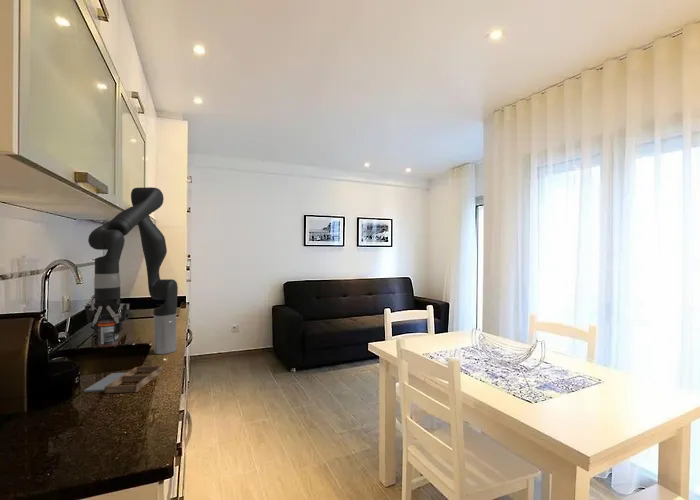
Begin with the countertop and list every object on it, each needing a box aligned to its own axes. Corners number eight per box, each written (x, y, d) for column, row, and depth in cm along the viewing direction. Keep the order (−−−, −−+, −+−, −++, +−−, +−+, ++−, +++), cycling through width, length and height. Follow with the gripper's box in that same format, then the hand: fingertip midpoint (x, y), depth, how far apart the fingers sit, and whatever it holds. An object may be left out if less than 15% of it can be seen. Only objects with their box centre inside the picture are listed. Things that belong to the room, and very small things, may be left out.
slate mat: (112, 374, 131) (112, 373, 131) (129, 374, 131) (129, 372, 131) (83, 392, 115) (83, 390, 115) (103, 391, 115) (103, 389, 115)
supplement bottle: (100, 344, 125) (99, 312, 124) (119, 342, 127) (119, 311, 127) (96, 348, 119) (95, 315, 119) (116, 346, 122) (116, 314, 122)
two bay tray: (136, 372, 133) (135, 366, 133) (162, 371, 134) (162, 365, 134) (104, 393, 114) (104, 387, 114) (136, 391, 114) (136, 385, 114)
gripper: (134, 284, 127) (135, 330, 128) (92, 285, 126) (93, 331, 126) (123, 286, 120) (124, 335, 120) (78, 287, 119) (79, 337, 119)
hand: (108, 333), depth 123 cm, fingers closed on supplement bottle, 6 cm apart
